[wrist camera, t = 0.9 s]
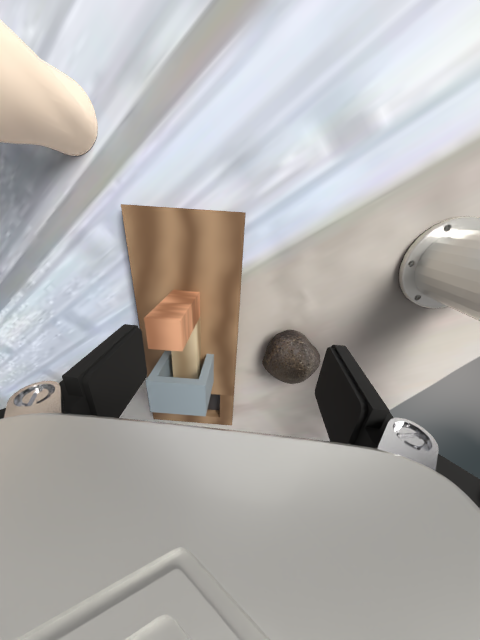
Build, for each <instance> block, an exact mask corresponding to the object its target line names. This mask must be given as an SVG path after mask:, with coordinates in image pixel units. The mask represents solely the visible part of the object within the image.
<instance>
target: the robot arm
mask: <svg viewBox="0 0 480 640" xmlns="http://www.w3.org/2000/svg"><path fill="white" fill-rule="evenodd" d="M399 283H400V288H401V290H402V292H403V294H404V295H405V296H406V297H407V298H408V299H409V300H410V301H412V302H413V303H415V304H417V305H419V306H422V307H426V308H445V307H451V308H453V309H455V310H457V311H459V312H461V313H464V314H466V315H468V316H470V317H472V318H474V319H476V320H479V321H480V217H475V216H463V217H455V218H451V219H448V220H445V221H443V222H441V223H438V224H436V225H434V226H433V227H431V228H430V229H428V230H427V231H425V232H424V233H423V234H422V235H421V236H420V237H419V238H417V239H416V241H415V242H414V243H413V244H412V245H411V247H410V248H409V249H408V251H407V253H406V254H405V256H404V258H403V261H402V263H401V267H400V271H399ZM146 376H147V367H146V360H145V352H144V345H143V337H142V331H141V329H139V328H138V326H136V325H126V324H125V325H123V326H122V327H120V328H119V329H118V330H117V331H116V332H114V333H113V334H112V335H111V336H110V337H108V338H107V339H106V340H105V341H104V342H102V343H101V344H100V345H99V346H98V347H96V348H95V349H94V350H93V351H92V352H90V353H89V354H88V355H87V356H86V357H84V358H83V359H82V360H81V361H80V362H78V363H77V364H76V365H75V366H73V367H72V368H71V369H70V370H69V371H67V372H66V373H65V374H64V375H63V376H62V378H63V380H62V381H61V382H60V383H57V382H54V381H42V382H38V383H34V384H31V385H28V386H26V387H24V388H22V389H20V390H19V391H17V392H16V393H14V394H13V395H12V396H11V397H10V399H9V400H8V402H7V406H6V408H4V409H1V410H0V640H480V479H478V478H477V477H475V476H473V475H472V474H470V473H468V472H467V471H465V470H464V469H462V468H460V467H459V466H457V465H455V464H454V463H452V462H450V461H449V460H447V459H446V458H444V457H442V456H441V455H439V454H438V445H437V443H436V441H435V439H434V438H433V437H432V436H431V435H430V434H429V433H428V432H427V431H426V430H425V429H424V428H422V427H421V426H419V425H418V424H416V423H414V422H412V421H409V420H407V419H403V418H393V416H392V415H391V414H390V412H389V409H388V408H387V406H386V405H385V403H384V402H383V400H382V399H381V397H380V396H379V395H378V393H377V392H376V390H375V389H374V387H373V386H372V384H371V383H370V381H369V380H368V378H367V377H366V375H365V374H364V373H363V371H362V370H361V368H360V367H359V365H358V364H357V362H356V361H355V359H354V358H353V356H352V355H351V353H350V352H349V351H348V349H347V348H346V347H345V346H340V345H332V346H331V347H328V348H327V351H326V354H325V357H324V361H323V364H322V368H321V371H320V375H319V378H318V382H317V385H316V388H315V396H316V399H317V402H318V405H319V409H320V412H321V415H322V418H323V421H324V424H325V427H326V430H327V433H328V436H329V439H330V442H329V441H321V440H313V439H305V438H296V437H288V436H279V435H271V434H262V433H253V432H244V431H235V430H226V429H217V428H208V427H199V426H190V425H181V424H171V423H162V422H152V421H142V420H133V419H123V418H119V417H120V415H121V414H122V412H123V411H124V409H125V408H126V406H127V405H128V403H129V402H130V400H131V399H132V398H133V396H134V395H135V393H136V392H137V390H138V389H139V387H140V386H141V384H142V383H143V381H144V380H145V378H146Z"/></svg>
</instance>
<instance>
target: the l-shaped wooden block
mask: <svg viewBox="0 0 480 640" xmlns="http://www.w3.org/2000/svg"><path fill="white" fill-rule="evenodd" d="M144 322H145V329H146V336H147V343H148V349H156V350H169V351H171V355H172V367H173V377H176V378H189V379H199V377H200V374H201V327H200V292H197V291H183V290H173V291H171V292H170V293H169V294H168V295H167V296H166V297H165V298H164V299H163V300H162V301H161V302H160V303H159V304H158V305H157V306H156V307H155V308H154V309H153V310H152V311H151V312H150V313H149V314H147V315H146V316H145V317H144Z"/></svg>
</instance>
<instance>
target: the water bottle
mask: <svg viewBox="0 0 480 640" xmlns="http://www.w3.org/2000/svg"><path fill="white" fill-rule="evenodd" d="M96 137H97V120H96V115H95V111H94V108H93V106H92V103H91V101H90V99H89V98H88V96H87V94H86V93H85V92H84V90H83V89H82V88H81V87H80V85H78V83H77V82H75V81H74V80H73V79H72V78H70V77H69V76H67V75H66V74H64V73H62V72H61V71H59V70H58V69H56V68H55V67H53V66H51V65H50V64H48V63H46V62H45V61H43V60H41V59H40V58H39V57H38V56H37V55H36V54H35V53H34V52H33V51H32V50H31V49H30V48H29V47H28V46H27V45H26V44H25V43H24V42H23V41H22V40H21V39H20V38H19V37H18V36H17V35H16V34H15V33H14V32H13V31H12V30H11V29H10V28H9V27H7V26H6V25H5V24H4V23H3V22H2V21H1V20H0V142H4V143H12V144H33V145H41V146H45V147H48V148H51V149H54V150H56V151H59V152H62V153H64V154H67V155H71V156H78V155H82V154H84V153H86V152H87V151H89V150H90V148H91V147H92V146H93V144H94V142H95V140H96Z"/></svg>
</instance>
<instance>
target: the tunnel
mask: <svg viewBox="0 0 480 640" xmlns="http://www.w3.org/2000/svg"><path fill="white" fill-rule="evenodd" d="M213 382H214V354H207V355H206V358H205V361H204V364H203V367H202V370H201V374H200V377H199V379H189V378H176V377H173V367H172V355H171V351H164V353H163V354H162V356H161V358H160V359H159V361H158V362H157V364H156V365H155V367H154V369H153V370H152V372H151V373H150V375H149V376H148V378H147V380H146V387H147V393H148V399H149V406H150V412H157V413H169V414H182V415H194V416H206V413H207V408H208V404H209V400H210V395H211V391H212V386H213Z"/></svg>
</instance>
